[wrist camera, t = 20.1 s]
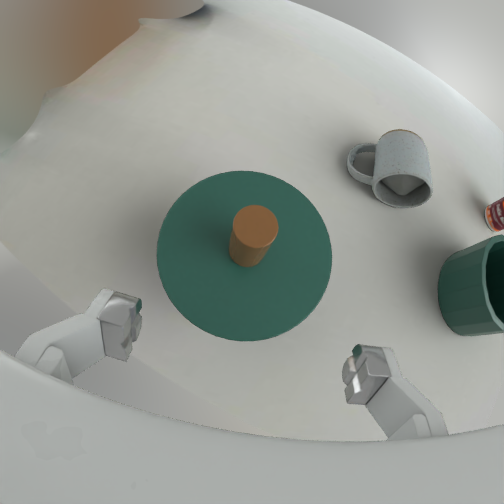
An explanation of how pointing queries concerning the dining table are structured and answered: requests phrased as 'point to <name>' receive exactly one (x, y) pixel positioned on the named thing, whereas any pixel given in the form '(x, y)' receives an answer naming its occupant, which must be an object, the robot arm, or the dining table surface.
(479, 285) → the tin
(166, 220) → the tin lid
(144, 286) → the dining table surface
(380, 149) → the ceramic mug
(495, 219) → the pill bottle
